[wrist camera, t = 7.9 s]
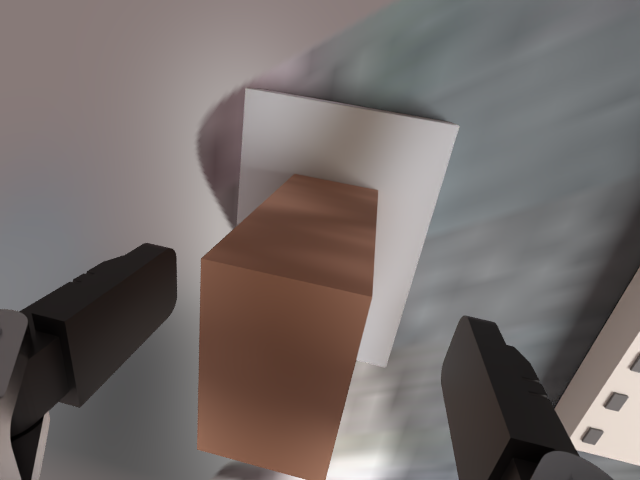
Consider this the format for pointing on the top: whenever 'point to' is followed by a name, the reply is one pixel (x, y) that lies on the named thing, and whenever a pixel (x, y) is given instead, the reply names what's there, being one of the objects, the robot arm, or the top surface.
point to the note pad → (608, 387)
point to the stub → (310, 272)
